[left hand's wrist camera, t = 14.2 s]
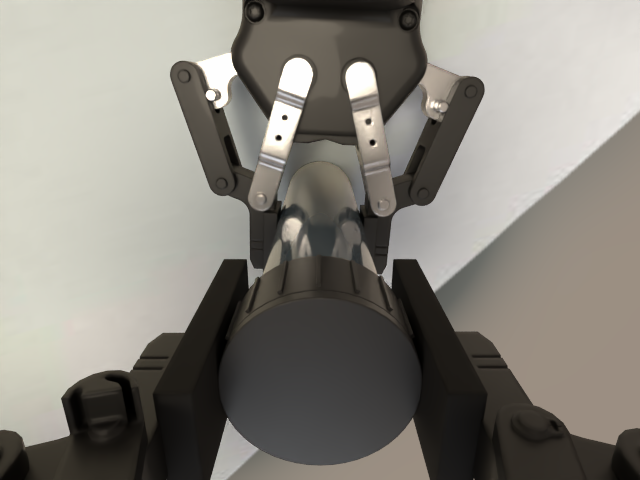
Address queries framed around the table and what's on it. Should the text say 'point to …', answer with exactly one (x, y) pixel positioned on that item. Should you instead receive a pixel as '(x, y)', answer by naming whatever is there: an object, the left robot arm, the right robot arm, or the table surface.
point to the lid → (320, 363)
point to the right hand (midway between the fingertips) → (318, 274)
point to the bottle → (320, 219)
